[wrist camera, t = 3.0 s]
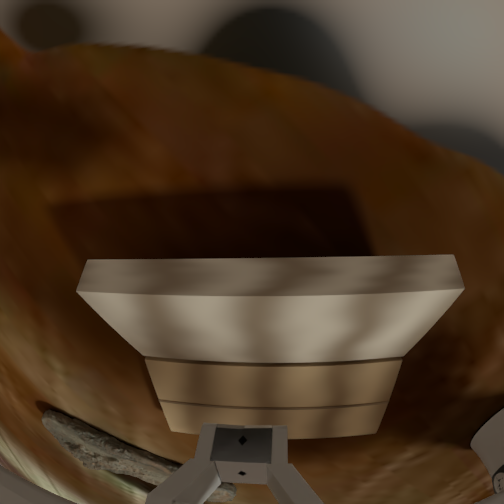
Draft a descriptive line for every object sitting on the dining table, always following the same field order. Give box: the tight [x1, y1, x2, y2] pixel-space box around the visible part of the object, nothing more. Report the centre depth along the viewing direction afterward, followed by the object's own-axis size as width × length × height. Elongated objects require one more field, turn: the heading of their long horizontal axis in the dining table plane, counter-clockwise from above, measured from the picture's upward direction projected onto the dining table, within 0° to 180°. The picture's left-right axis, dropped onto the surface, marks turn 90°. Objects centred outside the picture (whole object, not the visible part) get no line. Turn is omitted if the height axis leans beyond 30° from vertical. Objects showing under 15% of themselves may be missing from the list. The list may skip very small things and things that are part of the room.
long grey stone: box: [42, 410, 237, 502], centre depth 40 cm, size 35×5×10 cm
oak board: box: [145, 356, 402, 439], centre depth 30 cm, size 24×12×3 cm, turn 93°
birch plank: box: [76, 255, 465, 363], centre depth 22 cm, size 24×12×2 cm, turn 93°
